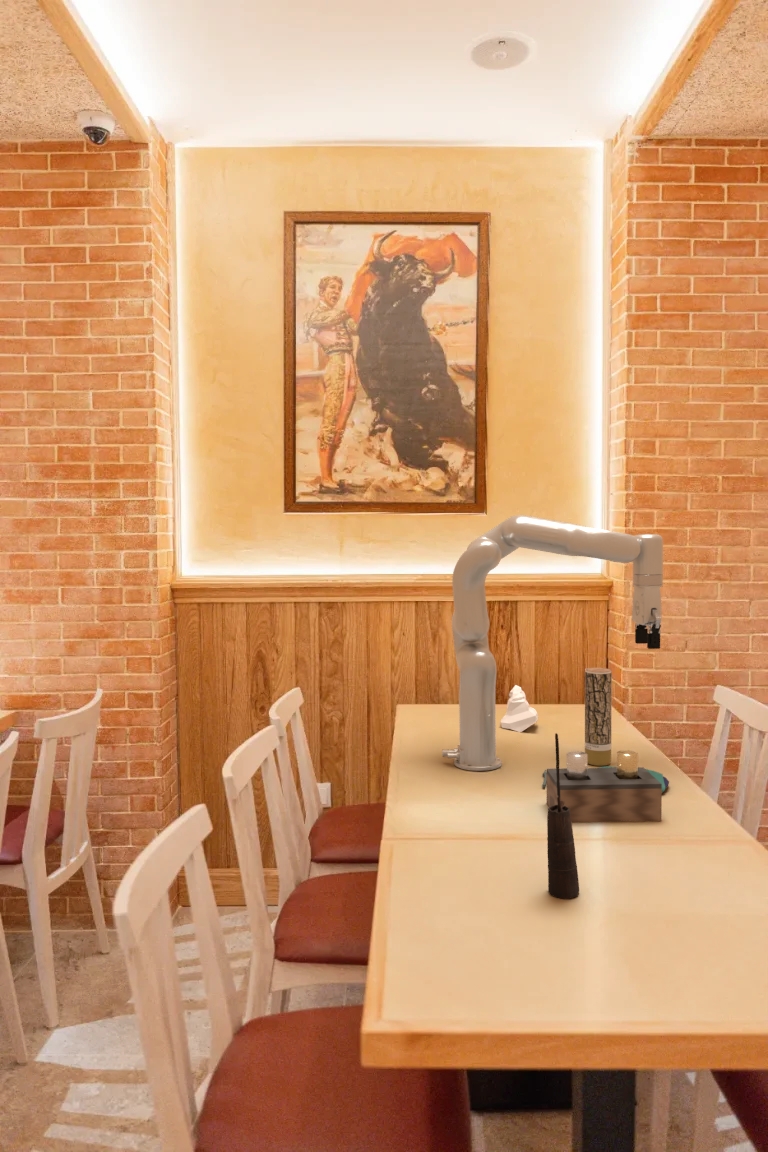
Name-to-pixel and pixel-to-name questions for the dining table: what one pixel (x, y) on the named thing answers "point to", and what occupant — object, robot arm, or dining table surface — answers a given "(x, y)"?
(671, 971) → the dining table surface
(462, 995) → the dining table surface
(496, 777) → the dining table surface
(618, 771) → the brass peg
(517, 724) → the soft serve ice cream
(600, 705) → the paper tube
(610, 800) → the peg block
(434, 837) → the dining table surface
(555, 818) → the butter churn
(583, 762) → the steel peg
